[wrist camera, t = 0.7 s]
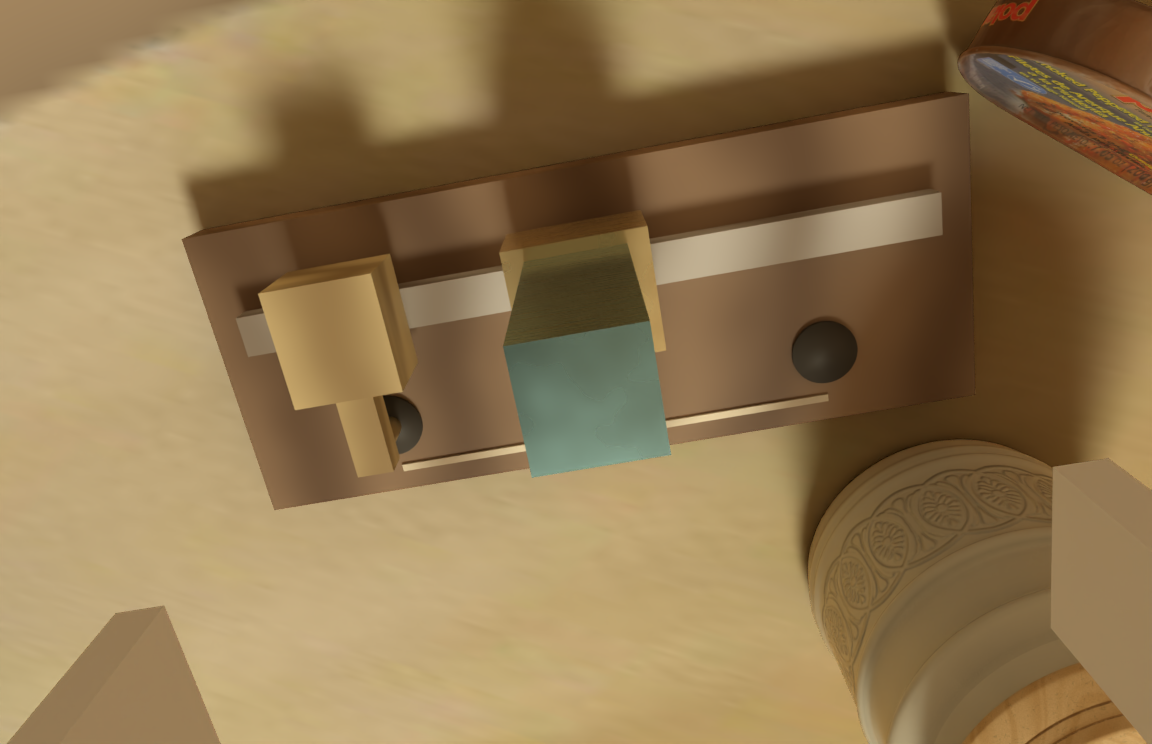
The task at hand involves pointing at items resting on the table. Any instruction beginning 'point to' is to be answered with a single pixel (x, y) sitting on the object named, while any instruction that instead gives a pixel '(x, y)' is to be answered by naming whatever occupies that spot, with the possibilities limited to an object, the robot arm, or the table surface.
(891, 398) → the gauge board
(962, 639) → the jar
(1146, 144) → the tin
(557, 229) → the slider
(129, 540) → the table surface
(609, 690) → the table surface
